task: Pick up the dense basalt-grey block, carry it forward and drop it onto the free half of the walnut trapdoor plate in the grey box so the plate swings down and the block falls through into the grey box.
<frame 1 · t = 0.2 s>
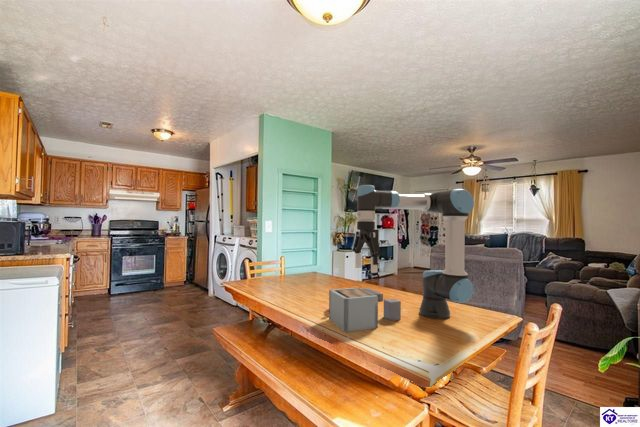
hand: (365, 270, 129), 28 cm above the table, fingers open, 13 cm apart
basalt block: (392, 318, 151), on the table
trapdoor: (360, 295, 144), point 13 cm above the table, hinge at 0.0°
grey box: (352, 323, 143), on the table
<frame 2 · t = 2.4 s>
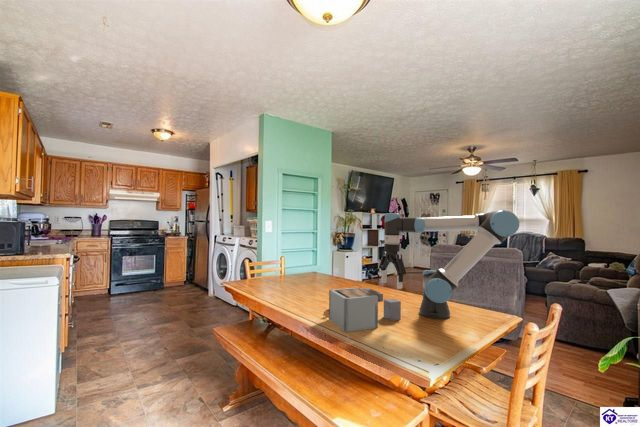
hand: (391, 285, 151), 16 cm above the table, fingers open, 13 cm apart
nothing on the table moved.
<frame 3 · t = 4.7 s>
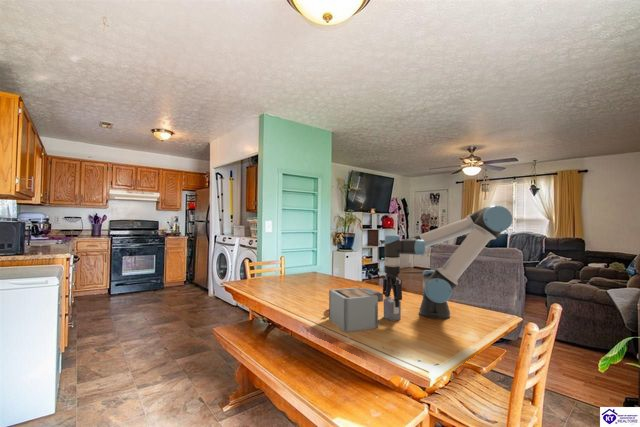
hand: (392, 311, 151), 3 cm above the table, fingers closed on basalt block, 6 cm apart
basalt block: (392, 318, 151), on the table, touching gripper
everything else where it was.
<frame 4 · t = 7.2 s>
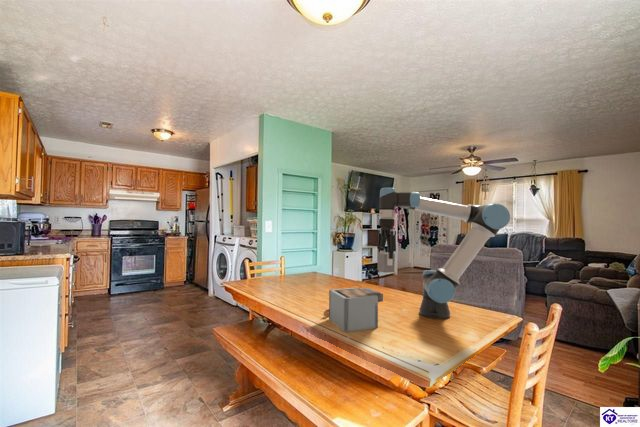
hand: (385, 264, 150), 27 cm above the table, fingers closed on basalt block, 6 cm apart
basalt block: (385, 271, 150), point 24 cm above the table, touching gripper
everything else where it was.
when the fingers open (21 cm above the table, at t = 9.7 s): basalt block drops 9 cm and tips over, resting on trapdoor.
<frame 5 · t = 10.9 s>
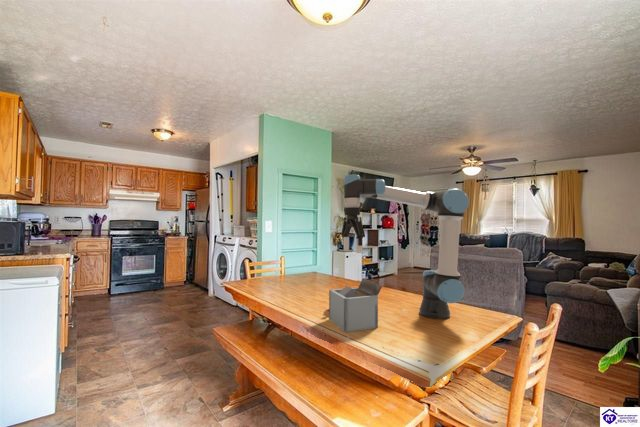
hand: (352, 251, 143), 34 cm above the table, fingers open, 13 cm apart
basalt block: (354, 305, 143), point 8 cm above the table, tilted 36°, touching trapdoor
trapdoor: (364, 298, 145), point 11 cm above the table, hinge at -58.7°, touching basalt block
everything else where it was.
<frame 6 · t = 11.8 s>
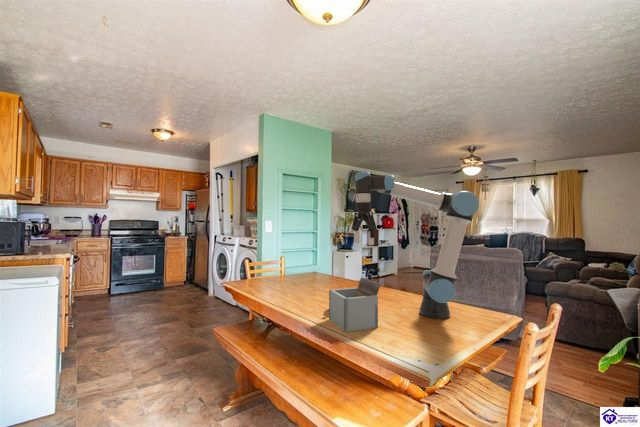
hand: (363, 244, 152), 37 cm above the table, fingers open, 13 cm apart
basalt block: (356, 316, 144), point 3 cm above the table, tilted 90°
trapdoor: (365, 297, 145), point 11 cm above the table, hinge at -71.1°
everything else where it was.
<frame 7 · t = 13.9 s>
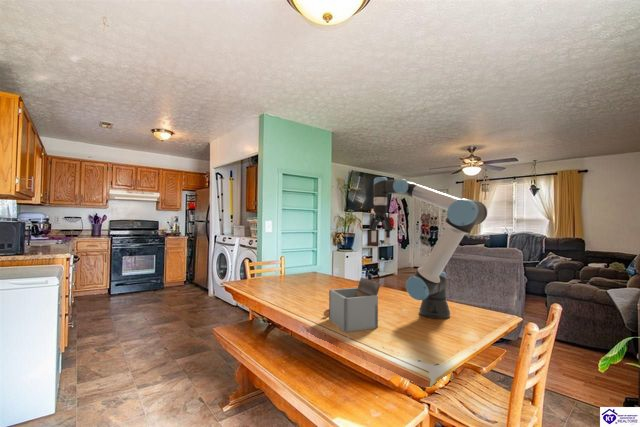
hand: (380, 242, 168), 37 cm above the table, fingers open, 13 cm apart
nothing on the table moved.
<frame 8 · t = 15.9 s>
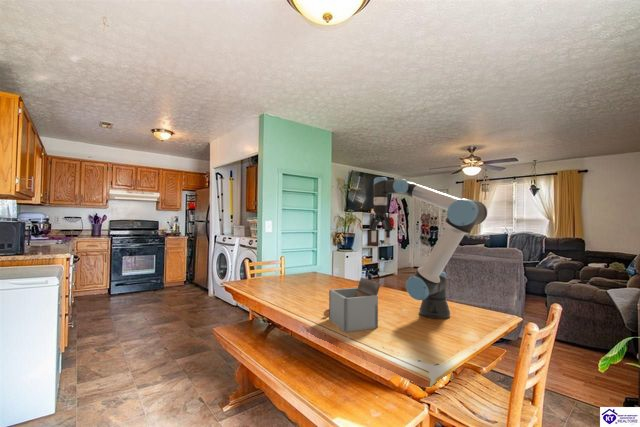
hand: (380, 242, 168), 37 cm above the table, fingers open, 13 cm apart
basalt block: (356, 316, 144), point 3 cm above the table, tilted 90°, touching trapdoor
trapdoor: (365, 297, 145), point 11 cm above the table, hinge at -70.8°, touching basalt block
everything else where it was.
at the end: basalt block inside the target area (2.5 cm from its centre), point 2.8 cm above the table; the gripper is holding nothing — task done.
